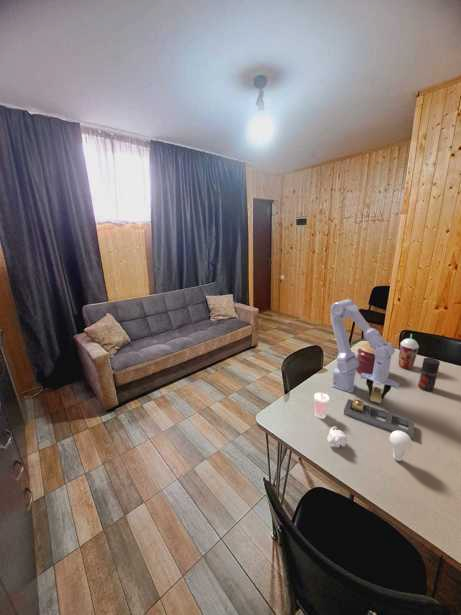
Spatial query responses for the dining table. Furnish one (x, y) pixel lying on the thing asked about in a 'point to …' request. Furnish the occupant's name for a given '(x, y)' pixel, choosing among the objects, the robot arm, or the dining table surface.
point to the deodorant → (428, 374)
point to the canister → (365, 359)
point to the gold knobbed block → (358, 406)
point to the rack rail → (380, 423)
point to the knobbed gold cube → (376, 394)
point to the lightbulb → (400, 444)
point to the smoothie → (408, 353)
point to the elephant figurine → (337, 437)
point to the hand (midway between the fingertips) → (376, 396)
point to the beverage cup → (321, 404)
